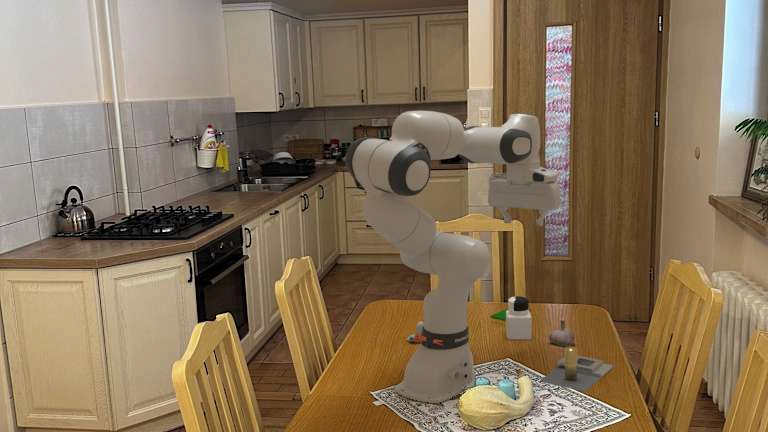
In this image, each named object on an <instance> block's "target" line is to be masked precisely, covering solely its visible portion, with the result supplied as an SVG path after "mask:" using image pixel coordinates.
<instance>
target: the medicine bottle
mask: <svg viewBox="0 0 768 432" xmlns="http://www.w3.org/2000/svg"><path fill="white" fill-rule="evenodd" d="M507 301H508V302H507V305H508V307H507V309H508V310H506V325H505V333H506V337H507V340H511V341H512V340H515V341H517V340H519V341H520V340H521V341H523V340H524V341H526V340H532V333H533V332H532V331H533V330H532V328H533V327H532V322H533V321H532V319H533V318H532V314H531V315H530V312H529V305H530V304H529V299H528V298H527V297H525V296H521V295H520V296H518V295H516V296H512V297H509V298H508V300H507Z"/></svg>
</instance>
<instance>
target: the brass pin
mask: <svg viewBox="0 0 768 432" xmlns="http://www.w3.org/2000/svg"><path fill="white" fill-rule="evenodd" d="M577 355H578V347H576V346H572V345H571V346H569V347H564V356H565V380H568V381H576V380H577Z"/></svg>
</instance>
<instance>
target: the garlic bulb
mask: <svg viewBox="0 0 768 432" xmlns="http://www.w3.org/2000/svg"><path fill="white" fill-rule="evenodd" d="M575 338H576V335H575V334H574V332H573V330H571V329H569V328H568V327H565V319H564V318H561V319H560V329H555V330H553V331H551V332H550V333H549V335H548V340H549V342H551V343H552V344H554V345H557V346H560V347H562V348H565V347H569V346H571V347H572V345H573V344H572V343H573V342H574V341H575Z"/></svg>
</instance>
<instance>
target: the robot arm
mask: <svg viewBox="0 0 768 432" xmlns="http://www.w3.org/2000/svg"><path fill="white" fill-rule="evenodd" d="M539 122H540V121H539V119H538V117H537V116H535V115H534V114H533V113H532V114H531V113H524V112H515V113H514V112H513V113H511V114H509V117H508V120H507V121H505V123H504V124H502V125H500V126H478V125H470V126H468V127H465V128H464V125H463V124H462V121H460V120H459V119H458V118H456V117H455V116H453V115H450V114H448V113H445V112H439V111H433V110H411V111H404V112H402V113H401V114H400V115H398V116H397V117H396V118H395V120H394V122H393V123H392V127H391V137H390V138H389V140H388V139H383V138H382V139H381V138H377V137H375V136H363V137H360V138H359V137H358V138H357V139H356V140H354V141H353V142H351V143H350V144H349V146H348V148H347V151H346V153H345V164H346V165H345V166H346V168H347V170H348V173H349V174H350V176H351V178H352V179H353V181H354V183H355V186H356V188H357V189H359V190H360V191H365V192H366V194H365V198H364V200H363V202H362V207H361V208H362V209H361V210H362V215H363V218H364V219H365V220H366V222H367V223H368V225H369V226H370V227H371V228H372V229H373V230H374V231H375V232H376V233H377V234H379V235H380V236H381V237H382V238H383V239H385V240H386V241H387V242H388V243H390V244H392V245H393V246H394V247H395V248H397V249H398V250H399V257H400V260H401V261H402V263H403V265H405V266H406V267H408V268H410V269H413V270H415V271H417V272H419V273H423V274H424V273H425V274H429V275H436V276H437V277H438V283H437V287H436V288H434V289H432V290H431V291H429V292H428V293H427V294H426V295H425V296H424V299H423V301H422V302H423V305H422V306H423V323H424V326H423V329H422V332H421V335H420V334H417V333H414V334H415V336H414V337H415V338H414V340H415V341H416V342H415V343H419V346H418V348H417V349H416V350H415V352H414V353H413V354H412V356H411V358H410V359H409V361H408V363H407V364H406V366H405V368H404V374H403V375H404V377H403V380H402V381H400V383H398V384H397V385H396V386H395V387H394V392H397V393H396V394H398V395H399V394H400V395H399V396H401V395H402V397H403V396H404V397H403V398H406V397H407V398H406V399H409V398H410V400H412V399H413V400H412V401H416V400H417V401H416V402H420V401H421V402H422V403H426V402H429V403H428V404H440V402H441V403H444V402H446V401H448V400H450V399H449V398H451V399H453V398H455V397H457V396H456V395H458V394H460V393H462V392H464V391H465V390H467V389H466V388H463V387H465V386H467V385H468V384H470V383H472V382H473V381H475V380H476V376H475V367H474V358H473V353H472V351H471V349H470V347H469V346H470V345H469V341H470V338H469V337H470V331H469V326H468V325H467V322H468V315H467V314H468V313H467V312H468V299H469V294H470V291H471V289H472V287H473V286H474V284H475V283H476V282H477V281H478V280H479V279H481V278H482V277H483V276H484V275H485V274H486V273H487V271H488V270H489V267H490V264H491V253H490V250H489V247H488V245H487V244H486V243H485V242H484V241H483V240H480V239H477V238H474V237H471V236H470V235H465V234H464V235H463V234H456V233H450V232H449V233H448V232H444V231H440V230H438V229H437V224H436V221H435V219H434V217H433V216H432V215H430V214H429V213H428V212H427V211H425V209H423V208H422V207H421V206H419V205H418V204H417V203H415V201H413V200H412V199H411V198H409V197H412V196H414V197H415V196H417V195H419V194H420V193H421V192H423V190H425V187H426V186H427V185H428V183H429V181H430V178H431V172H432V171H431V170H432V164H431V163H432V162H431V161H432V160H447V159H453V158H456V157H457V156H458V157H460V158H461V159H463V161H465V162H467V163H469V164H491V165H492V164H493V165H506V172H501V173H500V172H494V173H492V174H491V175H490V176H489V178H488V185H489V187H488V194H487V203H488V205H489V206H490V207H497V208H499V211H500V214H501V216H502V217H503V223H504V224H511V223H512V216H510V215H509V213H508V212H507V211H508V209H509V208H513V209H527V210H538V211H539V212H538V214H540V216H539V218H537V219H535V223H534V224H535V226H536V227H543V226H544V219H545V217H546V216H547V214H548V211H556V210H559V208H560V207H561V203H562V202H561V201H562V200H561V190H560V188H561V187H560V185H559V183H558V182H557V180H558V178H559V177H558V175H559V174H558V173H557V172H555V171H552V170H550V169H547V168H545V167H543V166H541V160H540V149H541V128H540V123H539ZM462 394H463V393H462ZM460 395H461V394H460ZM454 396H455V397H454ZM458 396H459V395H458ZM452 397H453V398H452ZM447 399H448V400H447ZM445 400H446V401H445ZM443 401H444V402H443ZM421 402H420V403H421Z"/></svg>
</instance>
